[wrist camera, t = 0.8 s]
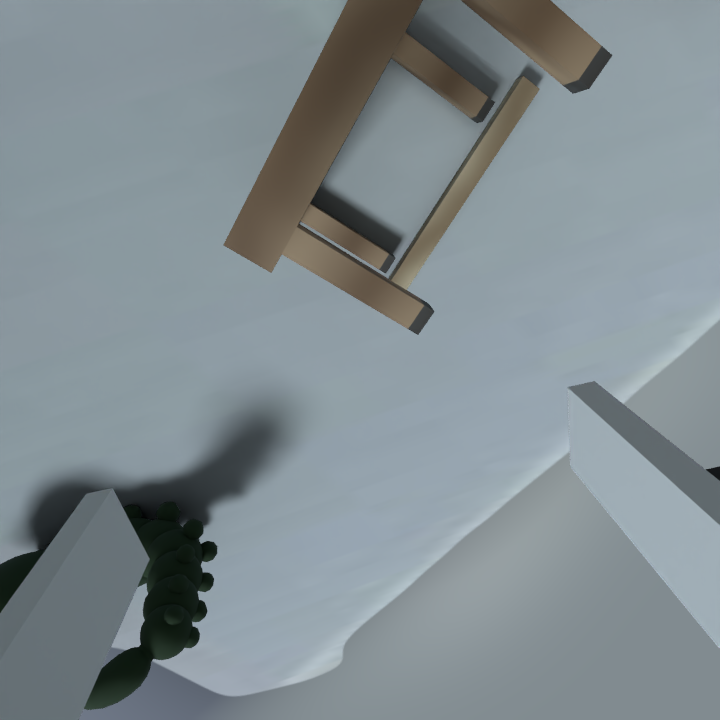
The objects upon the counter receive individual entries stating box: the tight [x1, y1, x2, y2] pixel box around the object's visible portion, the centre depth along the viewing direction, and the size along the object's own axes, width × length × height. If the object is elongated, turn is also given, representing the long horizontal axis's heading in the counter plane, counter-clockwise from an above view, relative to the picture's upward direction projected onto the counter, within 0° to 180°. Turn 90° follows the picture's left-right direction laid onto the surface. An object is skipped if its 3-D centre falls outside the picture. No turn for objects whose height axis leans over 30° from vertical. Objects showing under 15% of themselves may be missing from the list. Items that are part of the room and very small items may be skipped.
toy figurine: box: [0, 502, 217, 710], centre depth 39 cm, size 9×19×25 cm
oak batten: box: [389, 76, 539, 290], centre depth 36 cm, size 2×19×1 cm, turn 148°
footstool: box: [224, 0, 612, 335], centre depth 27 cm, size 10×16×16 cm, turn 148°
